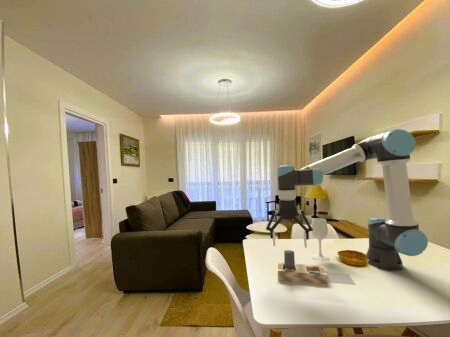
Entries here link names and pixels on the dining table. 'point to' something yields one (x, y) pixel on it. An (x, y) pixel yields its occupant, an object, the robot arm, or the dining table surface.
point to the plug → (289, 259)
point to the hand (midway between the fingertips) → (289, 246)
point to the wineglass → (319, 235)
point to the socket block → (302, 273)
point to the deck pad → (340, 278)
